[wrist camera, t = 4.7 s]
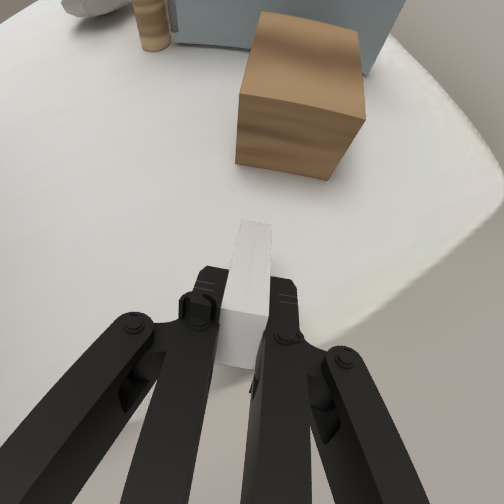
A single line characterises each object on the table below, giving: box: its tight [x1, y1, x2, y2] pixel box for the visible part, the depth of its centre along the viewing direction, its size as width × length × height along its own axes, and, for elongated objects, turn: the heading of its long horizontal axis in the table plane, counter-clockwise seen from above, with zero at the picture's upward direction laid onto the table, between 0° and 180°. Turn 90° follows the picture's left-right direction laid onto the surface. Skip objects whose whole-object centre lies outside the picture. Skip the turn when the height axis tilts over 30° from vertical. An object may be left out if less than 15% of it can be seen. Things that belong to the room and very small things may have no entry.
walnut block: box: [235, 11, 366, 181], centre depth 20 cm, size 9×7×8 cm
